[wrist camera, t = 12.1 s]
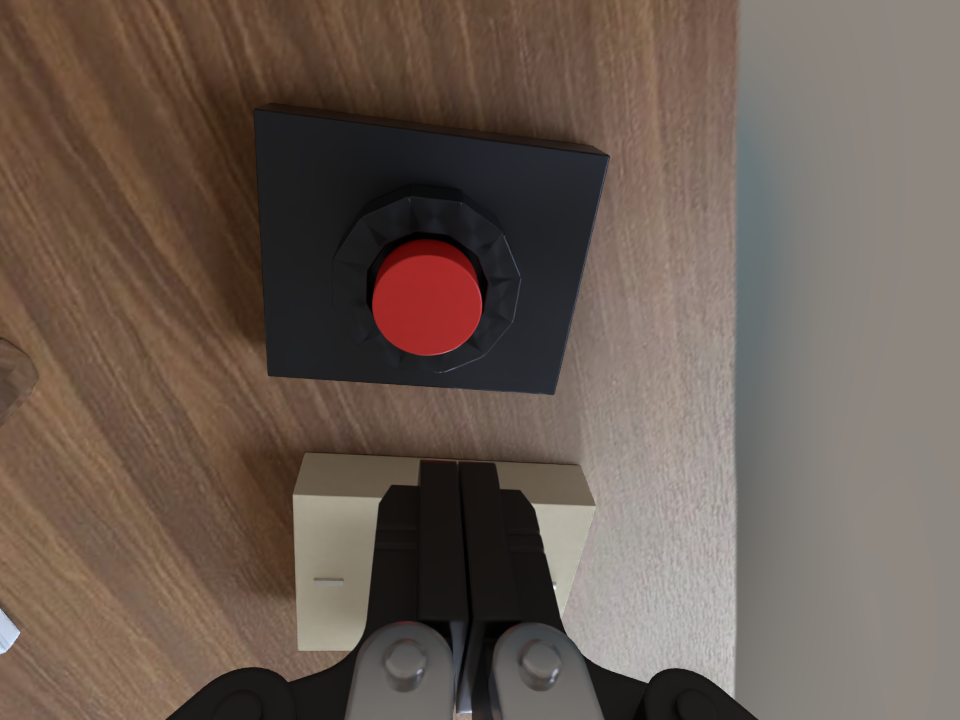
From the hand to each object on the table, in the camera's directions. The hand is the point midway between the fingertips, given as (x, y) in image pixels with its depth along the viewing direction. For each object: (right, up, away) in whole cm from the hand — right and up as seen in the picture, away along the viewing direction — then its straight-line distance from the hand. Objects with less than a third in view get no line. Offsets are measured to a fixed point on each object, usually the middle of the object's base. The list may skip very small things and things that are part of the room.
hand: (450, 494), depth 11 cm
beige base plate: (-2, -7, +19) cm, 21 cm away
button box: (-2, +7, +12) cm, 14 cm away
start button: (-1, +5, +9) cm, 10 cm away
